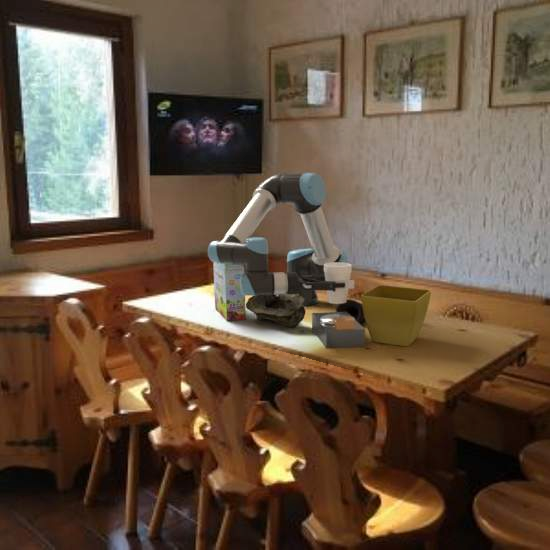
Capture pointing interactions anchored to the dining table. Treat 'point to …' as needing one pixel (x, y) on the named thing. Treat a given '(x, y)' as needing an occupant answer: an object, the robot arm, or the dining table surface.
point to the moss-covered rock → (278, 308)
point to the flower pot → (395, 313)
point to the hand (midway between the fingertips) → (350, 281)
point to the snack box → (229, 291)
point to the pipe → (352, 309)
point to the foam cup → (337, 273)
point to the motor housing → (338, 330)
